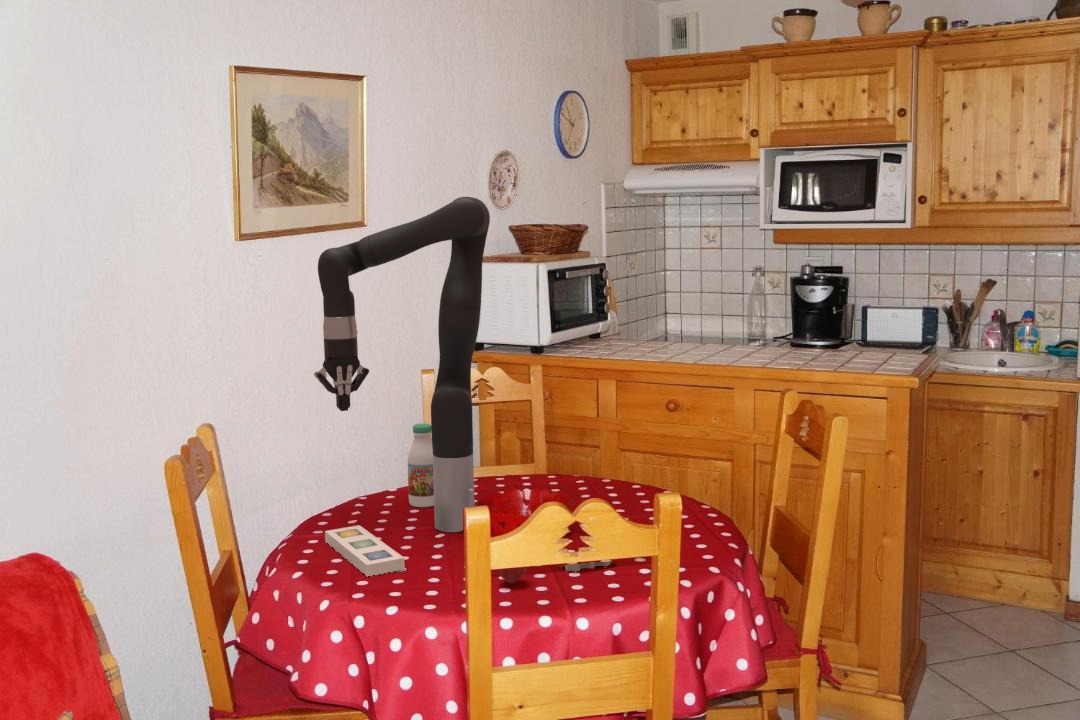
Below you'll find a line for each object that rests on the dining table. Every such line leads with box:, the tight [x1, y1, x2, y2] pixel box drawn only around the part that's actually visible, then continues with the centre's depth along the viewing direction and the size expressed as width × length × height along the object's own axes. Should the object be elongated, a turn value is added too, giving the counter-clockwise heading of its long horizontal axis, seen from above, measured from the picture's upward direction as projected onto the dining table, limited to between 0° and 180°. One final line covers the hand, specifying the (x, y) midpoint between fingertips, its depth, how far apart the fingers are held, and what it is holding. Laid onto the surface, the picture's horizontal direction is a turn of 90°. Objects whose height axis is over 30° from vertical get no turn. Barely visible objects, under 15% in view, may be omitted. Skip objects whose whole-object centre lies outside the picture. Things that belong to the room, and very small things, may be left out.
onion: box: [497, 567, 528, 585], centre depth 204 cm, size 6×6×8 cm
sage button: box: [353, 540, 373, 549], centre depth 222 cm, size 4×4×2 cm
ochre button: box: [340, 530, 359, 538], centre depth 230 cm, size 4×4×2 cm
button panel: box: [324, 524, 405, 578], centre depth 222 cm, size 8×26×2 cm, turn 30°
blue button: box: [368, 551, 388, 561], centre depth 215 cm, size 4×4×2 cm
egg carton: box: [559, 560, 613, 573], centre depth 215 cm, size 11×8×4 cm
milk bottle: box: [407, 423, 434, 508], centre depth 259 cm, size 8×8×20 cm
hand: (343, 410), depth 241 cm, fingers closed
